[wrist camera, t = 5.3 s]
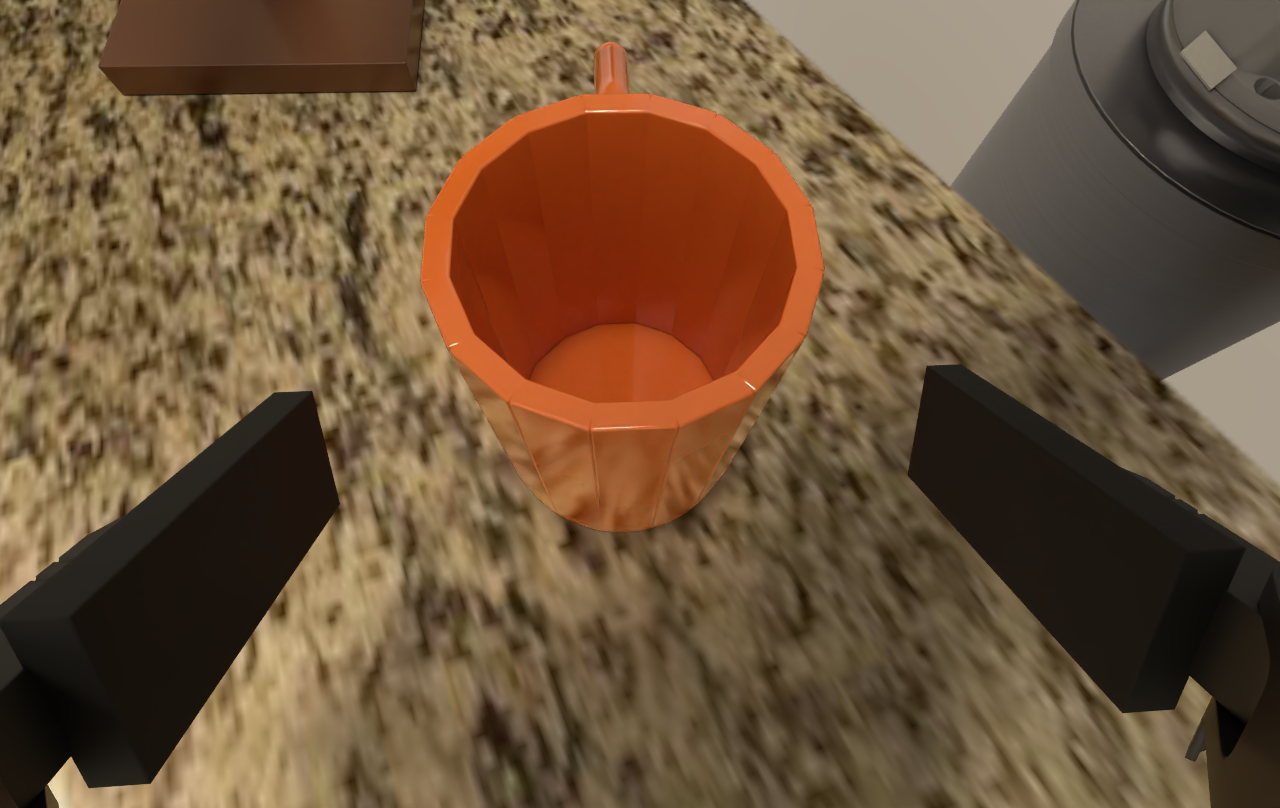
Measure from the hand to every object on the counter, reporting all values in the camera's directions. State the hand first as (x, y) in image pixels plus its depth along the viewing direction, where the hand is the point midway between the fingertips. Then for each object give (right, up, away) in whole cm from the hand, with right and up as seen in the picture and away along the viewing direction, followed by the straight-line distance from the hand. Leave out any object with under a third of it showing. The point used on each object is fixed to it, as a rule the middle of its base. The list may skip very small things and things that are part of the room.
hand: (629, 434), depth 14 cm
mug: (-1, +2, +11) cm, 11 cm away
